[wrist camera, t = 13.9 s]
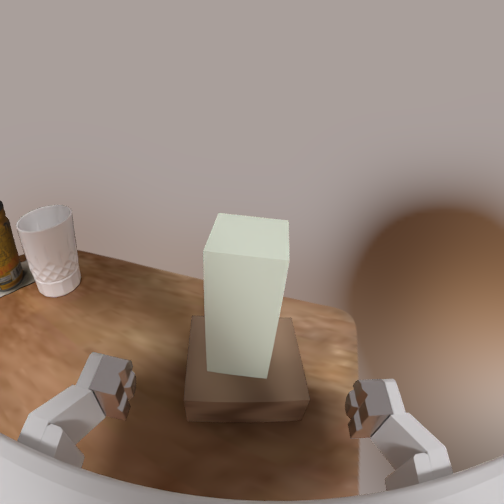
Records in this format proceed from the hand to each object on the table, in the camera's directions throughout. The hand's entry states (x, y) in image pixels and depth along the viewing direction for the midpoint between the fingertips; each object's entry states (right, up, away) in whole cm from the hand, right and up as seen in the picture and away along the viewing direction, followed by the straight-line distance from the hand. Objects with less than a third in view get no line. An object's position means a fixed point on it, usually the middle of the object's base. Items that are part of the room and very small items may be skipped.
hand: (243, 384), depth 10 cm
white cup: (-26, 0, +27) cm, 38 cm away
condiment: (-35, 0, +26) cm, 44 cm away
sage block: (-1, -4, +16) cm, 17 cm away
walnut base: (-1, -8, +18) cm, 20 cm away
